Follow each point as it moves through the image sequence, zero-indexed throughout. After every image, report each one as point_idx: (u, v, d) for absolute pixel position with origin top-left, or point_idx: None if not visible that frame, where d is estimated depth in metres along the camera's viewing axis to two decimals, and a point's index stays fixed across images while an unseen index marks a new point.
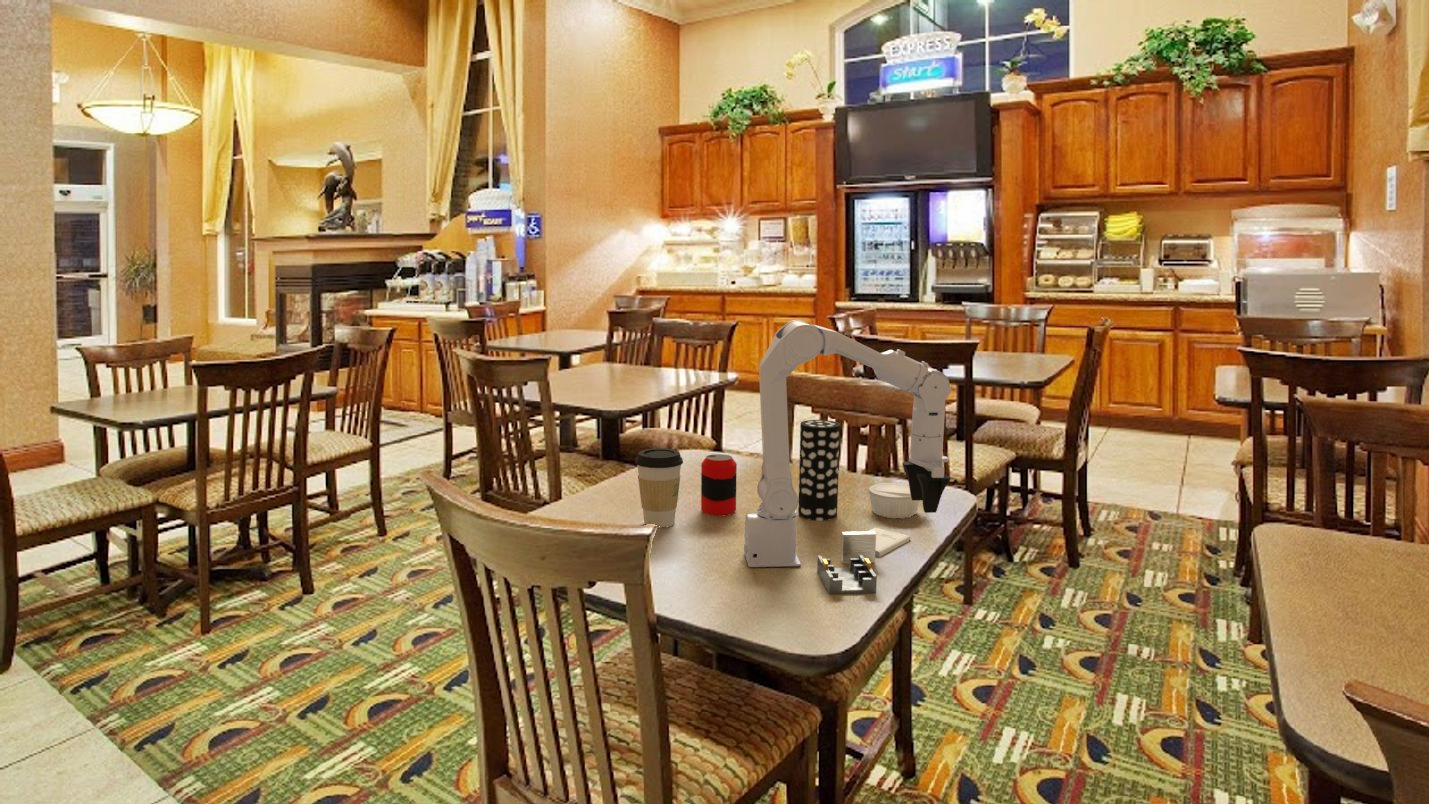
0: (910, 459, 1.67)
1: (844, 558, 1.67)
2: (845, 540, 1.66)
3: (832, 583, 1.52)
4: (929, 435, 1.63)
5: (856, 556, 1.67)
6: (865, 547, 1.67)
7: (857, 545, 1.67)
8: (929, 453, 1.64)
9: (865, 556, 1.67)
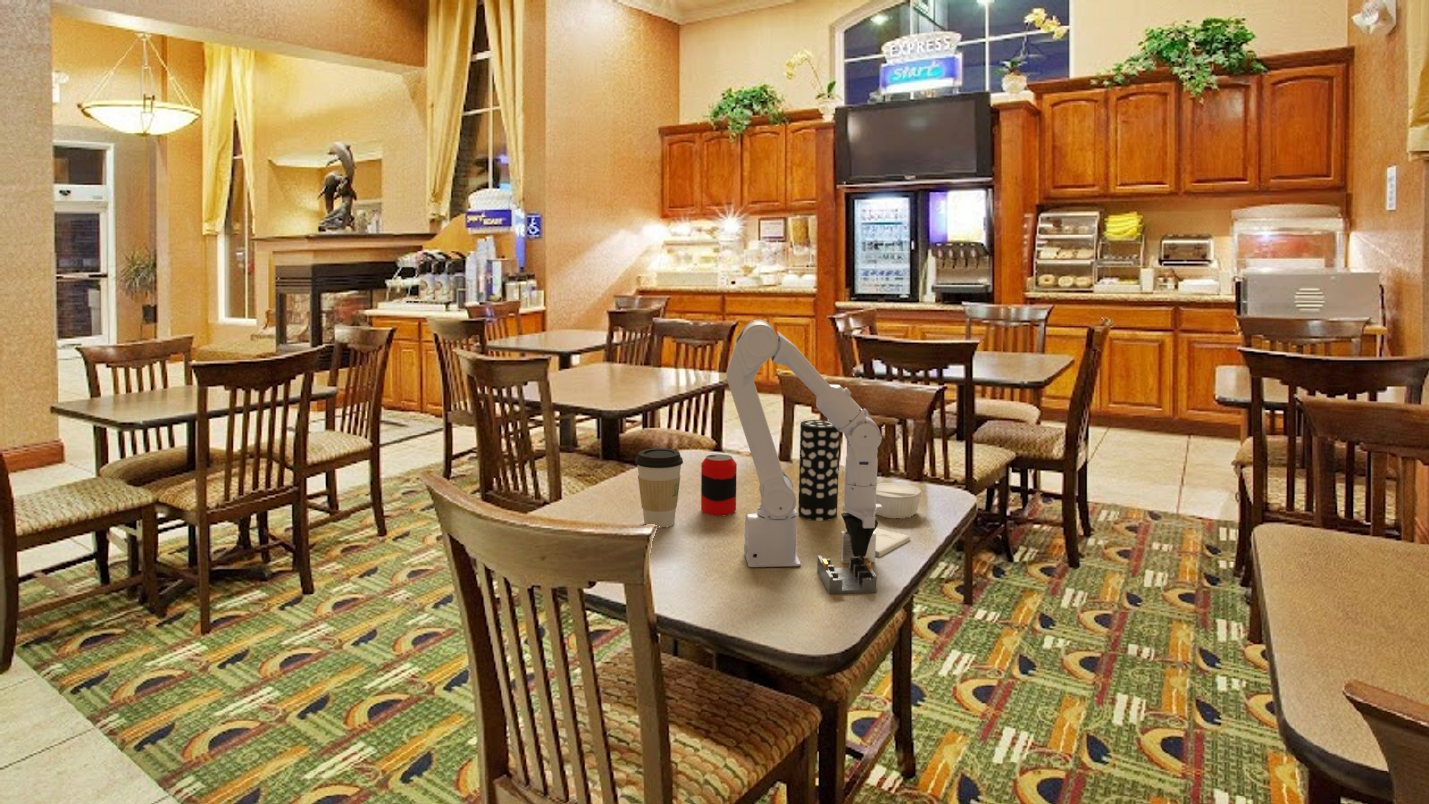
0: (843, 507, 1.66)
1: (844, 558, 1.67)
2: (845, 540, 1.66)
3: (832, 583, 1.52)
4: (860, 484, 1.63)
5: None
6: None
7: None
8: (861, 502, 1.63)
9: (865, 556, 1.67)
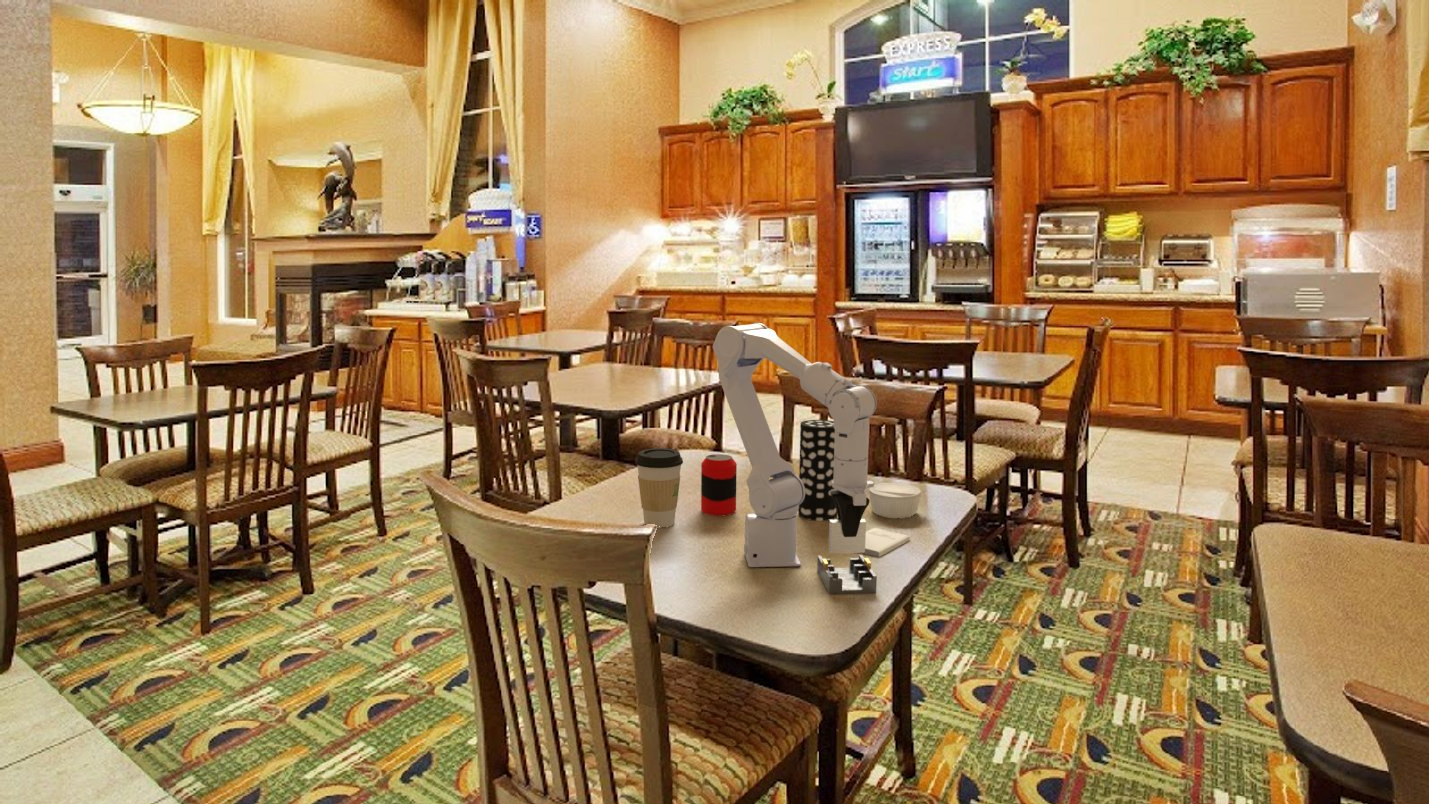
0: (833, 484, 1.55)
1: (832, 548, 1.56)
2: (833, 529, 1.56)
3: (832, 583, 1.52)
4: (839, 457, 1.53)
5: (845, 545, 1.56)
6: None
7: None
8: (852, 478, 1.52)
9: (854, 545, 1.57)
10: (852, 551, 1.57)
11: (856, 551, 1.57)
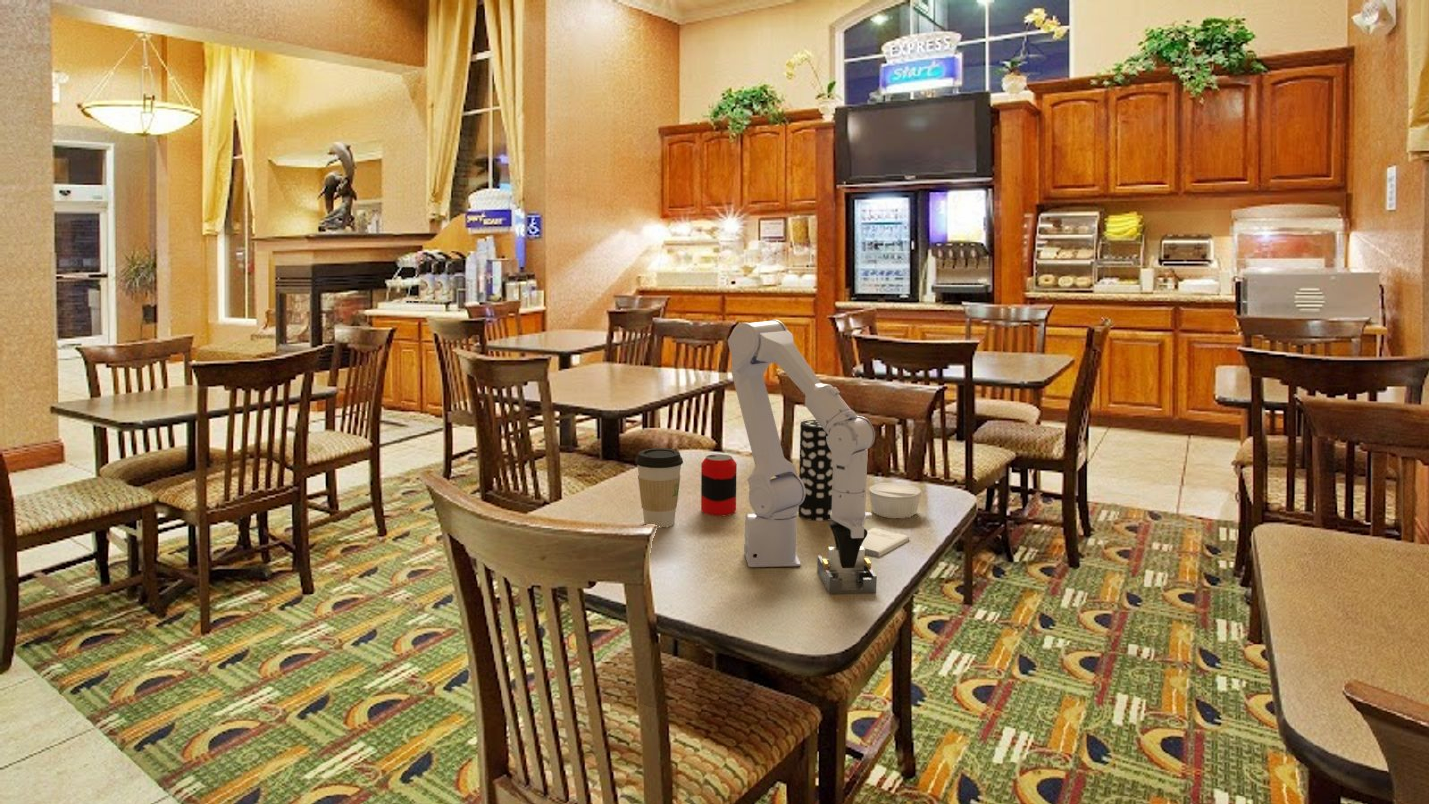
0: (831, 516, 1.55)
1: None
2: (832, 556, 1.56)
3: (832, 583, 1.52)
4: (837, 489, 1.53)
5: (843, 573, 1.57)
6: None
7: None
8: (850, 510, 1.53)
9: (853, 573, 1.57)
10: (851, 578, 1.57)
11: (855, 578, 1.57)
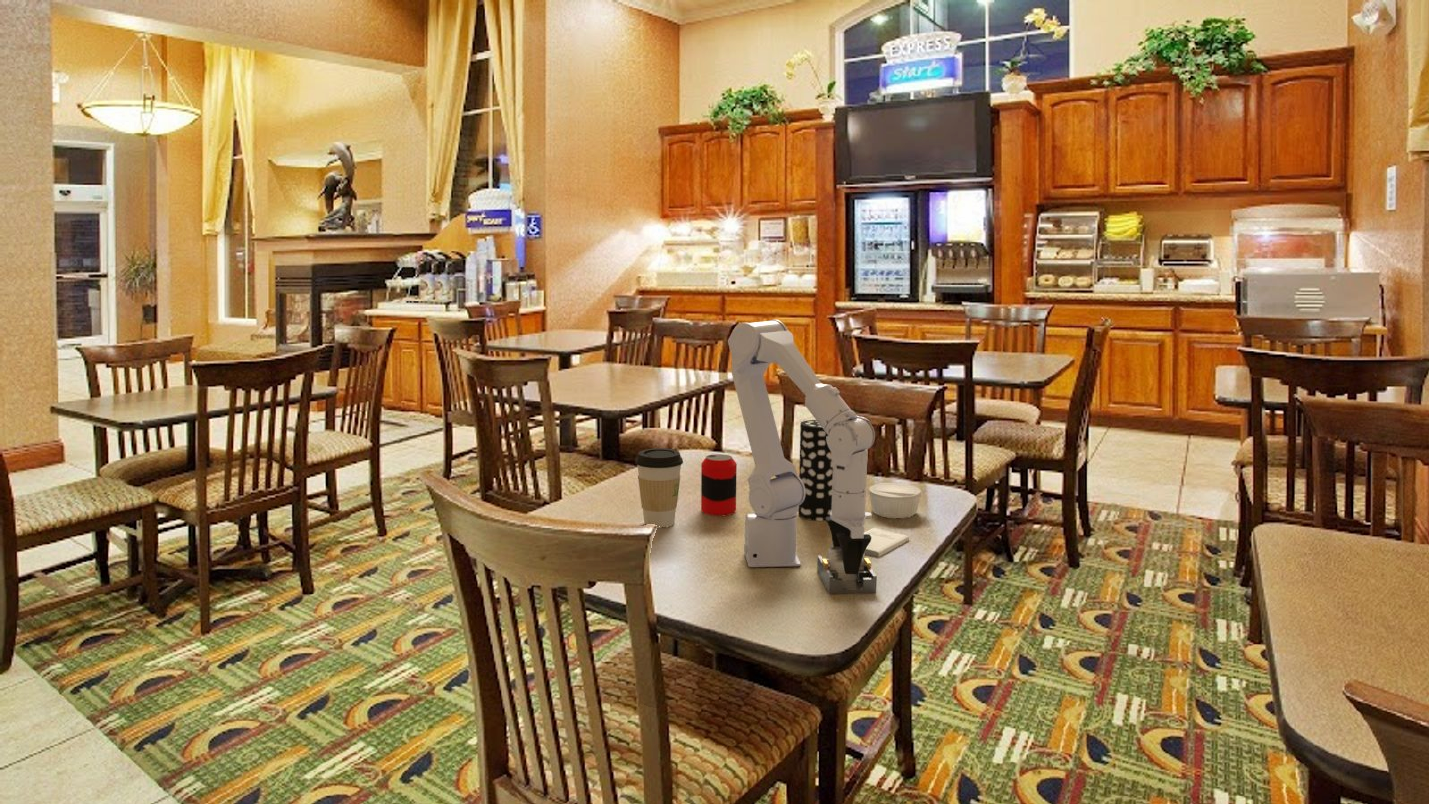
0: (831, 516, 1.55)
1: None
2: (832, 556, 1.56)
3: (832, 583, 1.52)
4: (837, 489, 1.53)
5: (843, 573, 1.57)
6: None
7: None
8: (850, 510, 1.53)
9: None
10: (851, 578, 1.57)
11: (855, 578, 1.57)
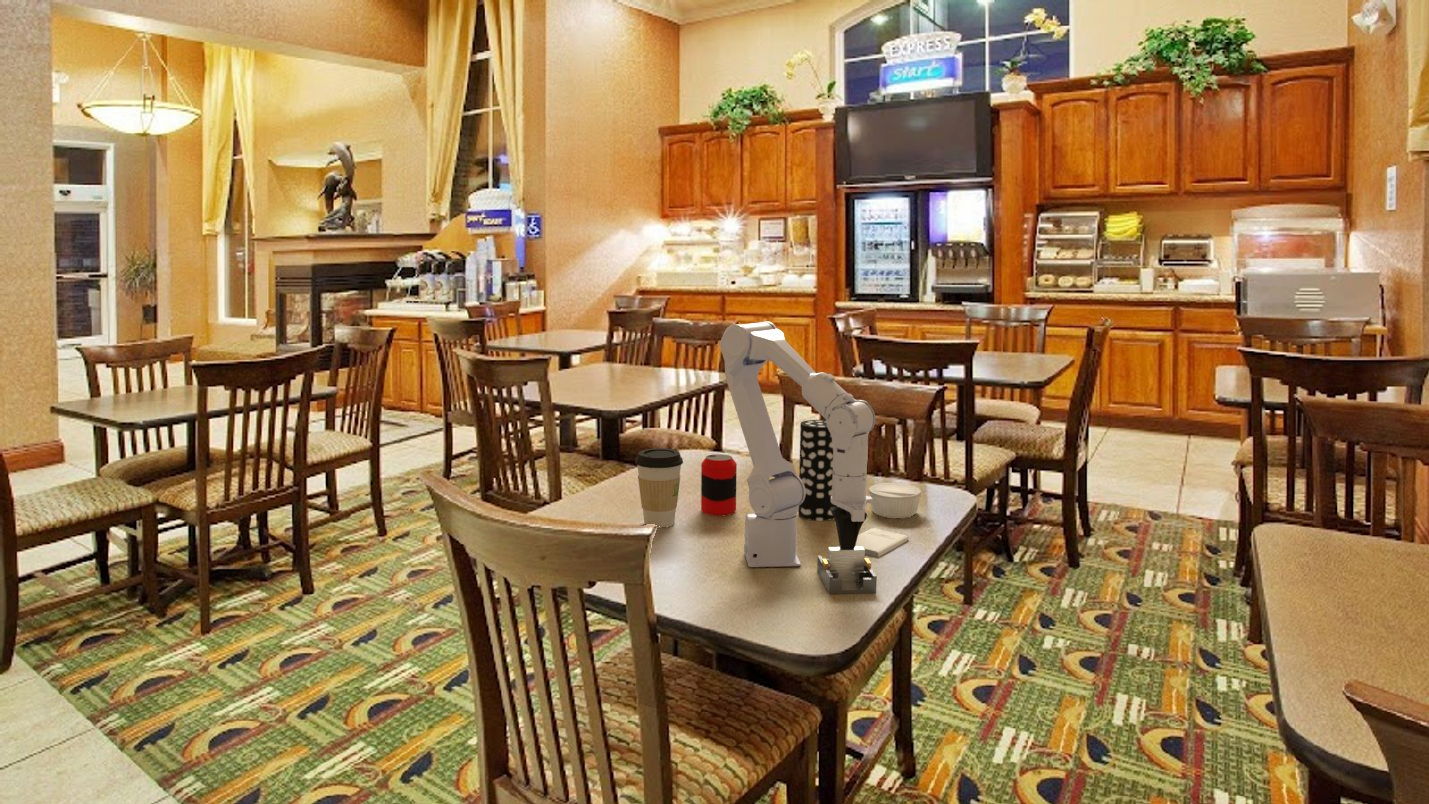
0: (831, 500, 1.55)
1: None
2: (832, 557, 1.56)
3: (832, 583, 1.52)
4: (837, 473, 1.53)
5: (843, 573, 1.57)
6: (853, 564, 1.56)
7: (845, 561, 1.56)
8: (850, 494, 1.52)
9: (853, 573, 1.57)
10: (851, 578, 1.57)
11: (855, 579, 1.57)
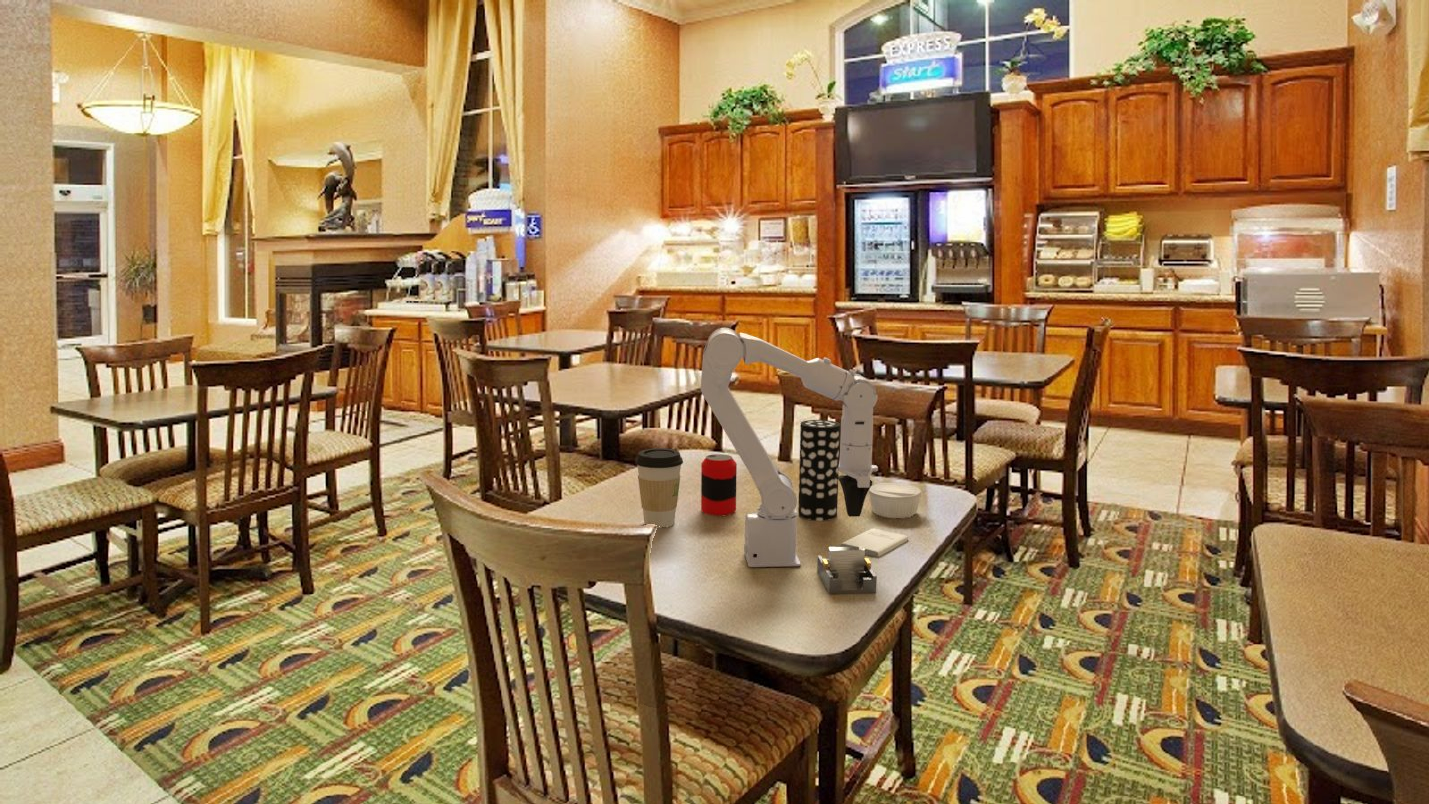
0: (839, 468, 1.65)
1: None
2: (832, 557, 1.56)
3: (832, 583, 1.52)
4: (855, 444, 1.62)
5: (843, 573, 1.57)
6: (853, 564, 1.56)
7: (845, 561, 1.56)
8: (857, 462, 1.62)
9: (853, 573, 1.57)
10: (851, 578, 1.57)
11: (855, 578, 1.57)
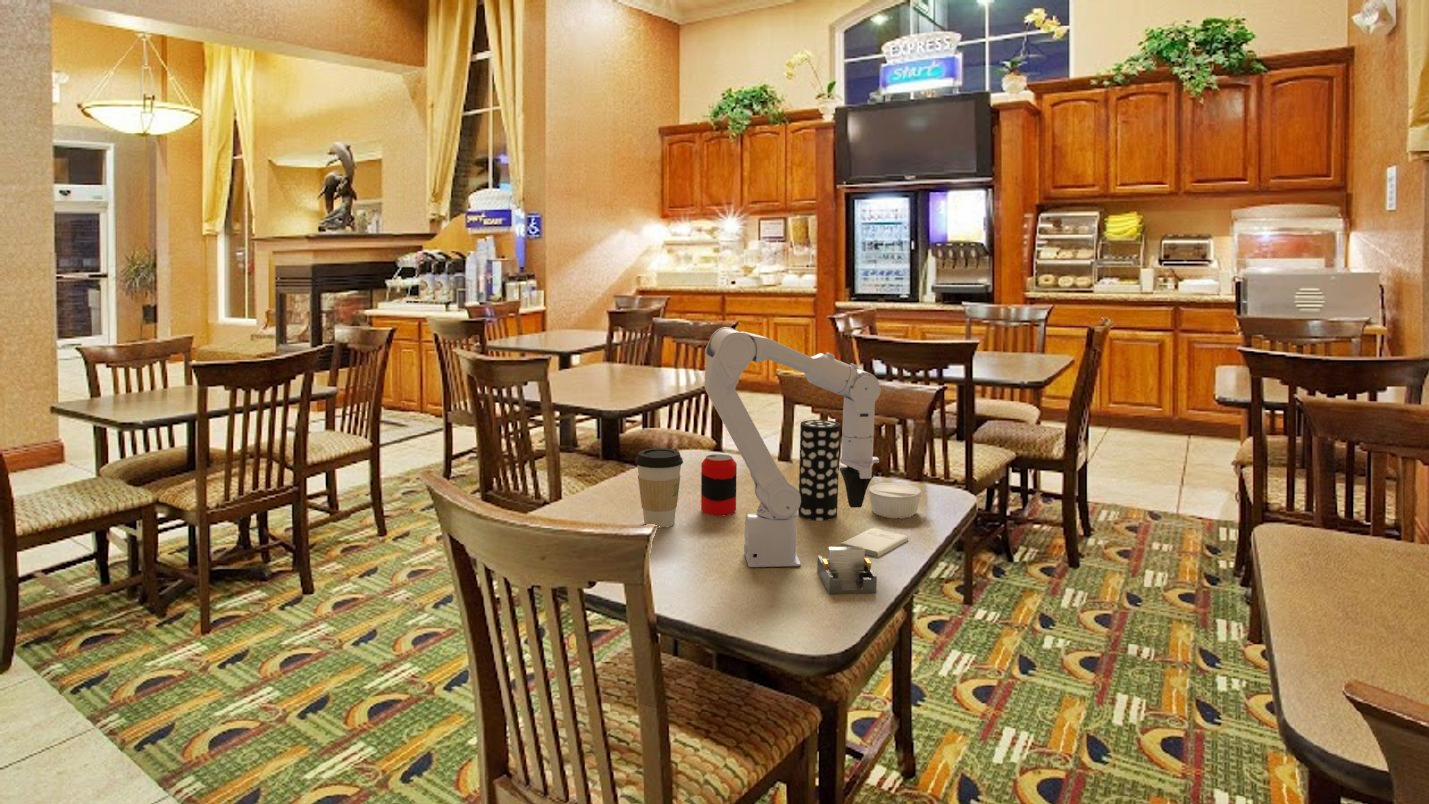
0: (841, 460, 1.68)
1: None
2: (831, 556, 1.56)
3: (832, 583, 1.52)
4: (860, 436, 1.64)
5: (843, 573, 1.57)
6: (853, 564, 1.56)
7: (844, 561, 1.56)
8: (858, 454, 1.65)
9: (853, 573, 1.57)
10: (851, 578, 1.57)
11: (855, 578, 1.57)
